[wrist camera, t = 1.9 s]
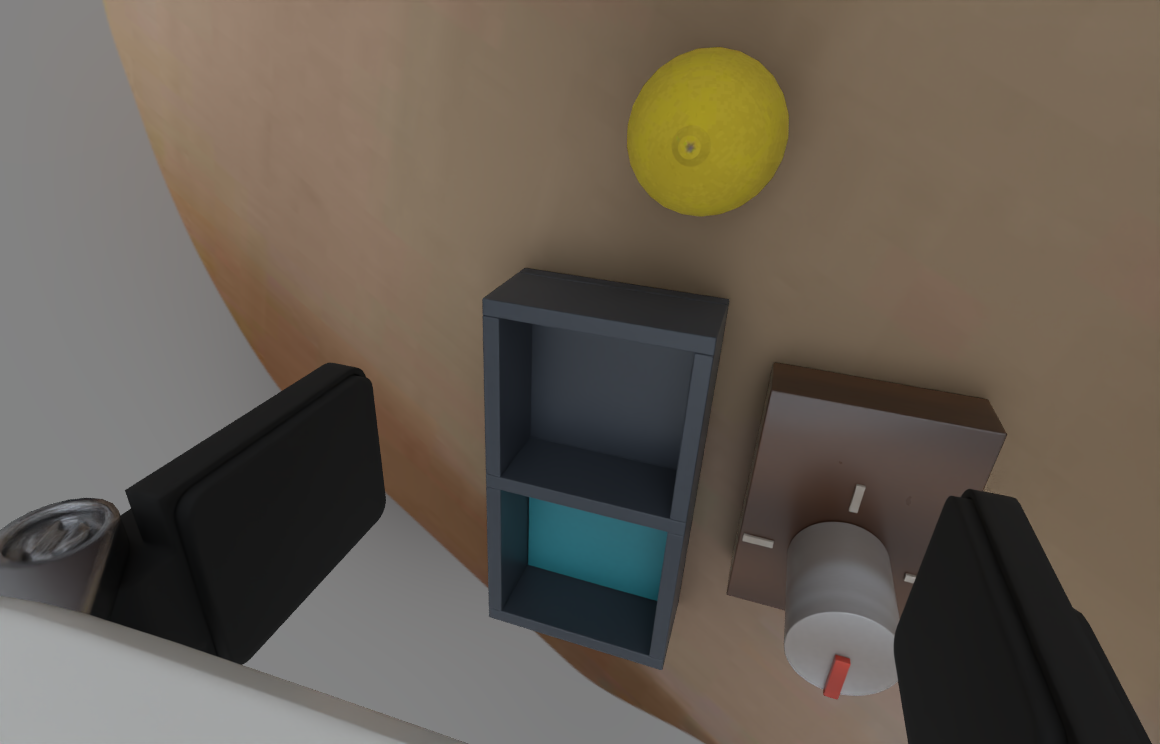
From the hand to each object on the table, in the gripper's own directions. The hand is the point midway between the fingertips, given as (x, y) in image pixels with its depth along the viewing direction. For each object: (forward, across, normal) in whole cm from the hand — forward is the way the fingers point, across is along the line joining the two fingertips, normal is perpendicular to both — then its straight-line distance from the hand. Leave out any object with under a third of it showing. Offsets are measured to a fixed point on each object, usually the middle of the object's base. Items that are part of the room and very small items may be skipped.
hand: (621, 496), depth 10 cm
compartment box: (+20, +5, +13) cm, 24 cm away
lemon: (+20, +1, -4) cm, 20 cm away
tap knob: (+17, -7, +14) cm, 23 cm away
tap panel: (+20, -7, +12) cm, 24 cm away
